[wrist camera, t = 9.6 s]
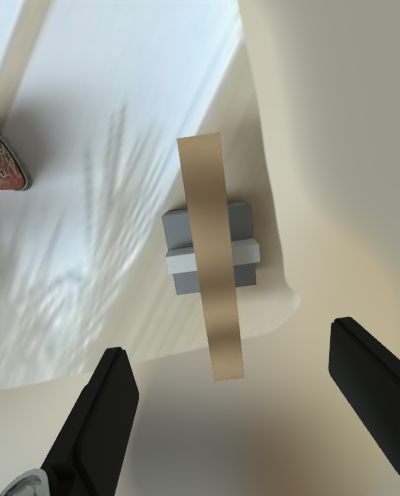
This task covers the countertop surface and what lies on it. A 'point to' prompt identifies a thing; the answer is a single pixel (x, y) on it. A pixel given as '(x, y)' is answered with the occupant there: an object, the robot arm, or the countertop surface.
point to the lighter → (12, 169)
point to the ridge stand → (183, 254)
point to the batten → (212, 249)
